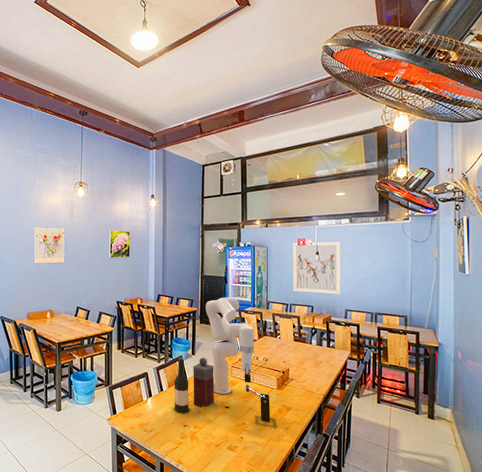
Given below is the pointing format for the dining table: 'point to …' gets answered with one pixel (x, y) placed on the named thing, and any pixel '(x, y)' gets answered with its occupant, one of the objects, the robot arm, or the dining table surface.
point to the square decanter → (203, 384)
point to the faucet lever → (253, 391)
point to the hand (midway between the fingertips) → (247, 381)
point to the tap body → (265, 408)
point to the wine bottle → (181, 389)
